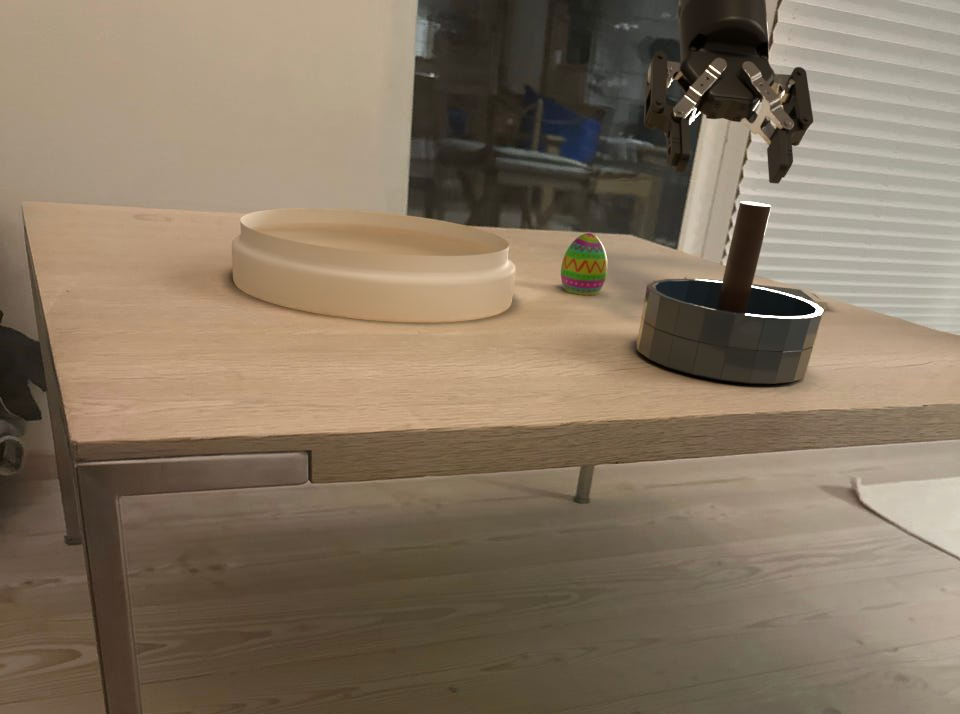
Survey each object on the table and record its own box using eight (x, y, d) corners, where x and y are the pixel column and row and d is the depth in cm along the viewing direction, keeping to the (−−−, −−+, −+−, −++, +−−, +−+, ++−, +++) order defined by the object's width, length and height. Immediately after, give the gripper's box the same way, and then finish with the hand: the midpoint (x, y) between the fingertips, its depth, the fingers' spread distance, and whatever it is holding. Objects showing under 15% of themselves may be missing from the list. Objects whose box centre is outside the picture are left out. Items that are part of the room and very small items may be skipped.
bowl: (752, 345, 86) (767, 283, 83) (837, 391, 74) (858, 321, 72) (611, 339, 82) (622, 274, 80) (678, 387, 71) (693, 313, 68)
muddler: (731, 352, 80) (766, 202, 74) (755, 367, 77) (795, 210, 71) (685, 350, 79) (717, 197, 73) (707, 365, 76) (743, 205, 69)
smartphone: (682, 283, 110) (684, 275, 110) (810, 297, 111) (812, 289, 110) (691, 295, 104) (693, 286, 104) (826, 310, 105) (829, 302, 104)
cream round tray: (554, 296, 96) (562, 240, 94) (424, 341, 75) (428, 270, 72) (340, 253, 106) (341, 201, 103) (170, 282, 85) (166, 217, 82)
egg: (612, 295, 100) (621, 236, 97) (585, 299, 97) (594, 238, 94) (576, 286, 103) (584, 228, 100) (549, 290, 99) (556, 230, 96)
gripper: (657, -34, 77) (663, 129, 74) (818, -13, 79) (832, 147, 75) (632, 42, 85) (636, 194, 81) (780, 60, 86) (791, 209, 83)
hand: (731, 171), depth 78 cm, fingers open, 8 cm apart
